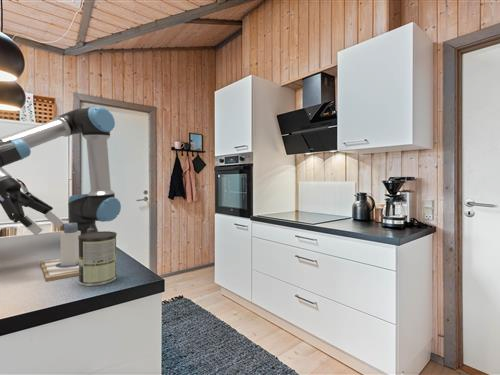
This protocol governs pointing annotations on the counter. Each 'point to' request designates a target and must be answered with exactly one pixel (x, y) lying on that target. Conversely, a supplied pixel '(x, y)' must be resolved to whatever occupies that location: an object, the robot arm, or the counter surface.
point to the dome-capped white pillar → (69, 244)
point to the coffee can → (97, 258)
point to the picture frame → (58, 270)
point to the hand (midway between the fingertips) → (51, 228)
